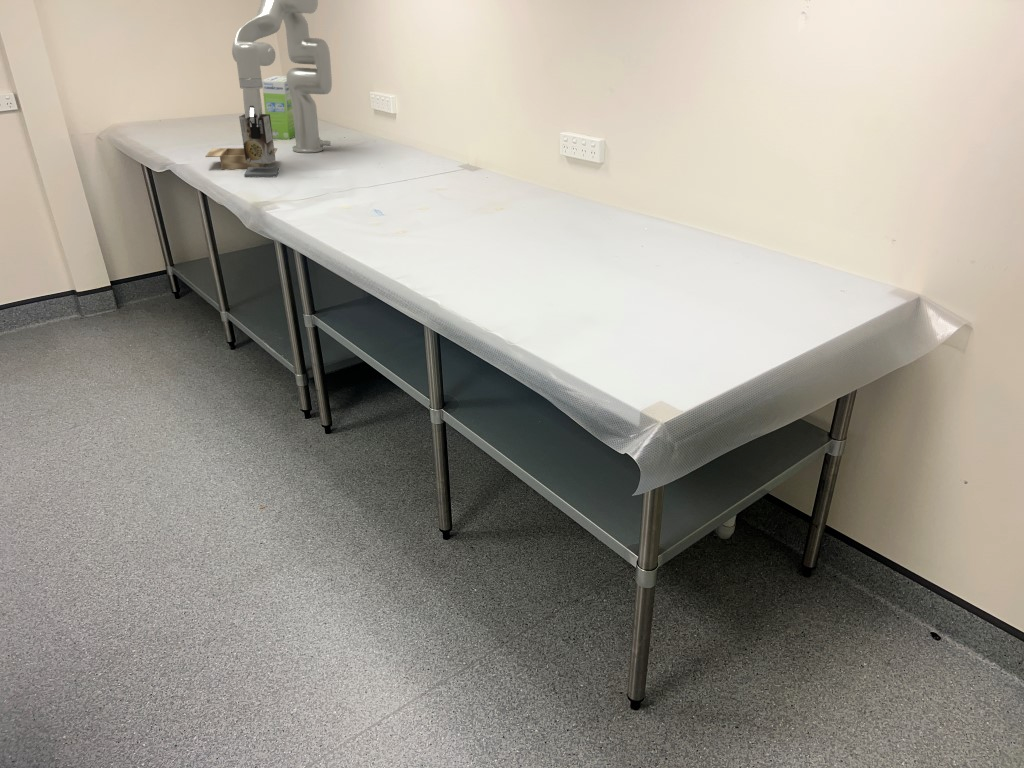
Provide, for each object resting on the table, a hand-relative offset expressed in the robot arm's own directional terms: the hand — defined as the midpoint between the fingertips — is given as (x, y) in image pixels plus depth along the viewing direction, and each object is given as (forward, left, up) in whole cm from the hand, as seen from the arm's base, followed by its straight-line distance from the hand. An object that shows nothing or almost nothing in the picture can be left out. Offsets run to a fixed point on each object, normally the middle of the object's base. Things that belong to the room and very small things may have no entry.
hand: (257, 136), depth 265 cm
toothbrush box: (-2, -73, -13) cm, 74 cm away
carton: (+8, -13, -13) cm, 20 cm away
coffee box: (0, 0, -9) cm, 9 cm away
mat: (0, 0, -13) cm, 13 cm away
